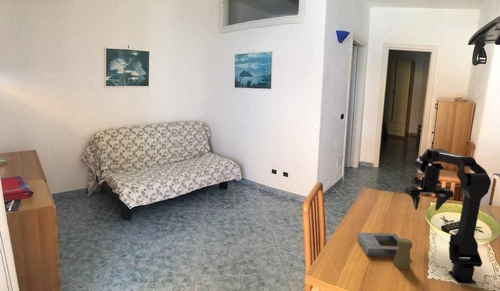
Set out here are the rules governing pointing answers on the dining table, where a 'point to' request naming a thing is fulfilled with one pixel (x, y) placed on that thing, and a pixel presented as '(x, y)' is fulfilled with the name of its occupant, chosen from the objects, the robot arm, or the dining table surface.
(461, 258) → the robot arm
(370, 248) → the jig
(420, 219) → the dining table surface
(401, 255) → the olive pawn
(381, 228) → the dining table surface
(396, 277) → the dining table surface
